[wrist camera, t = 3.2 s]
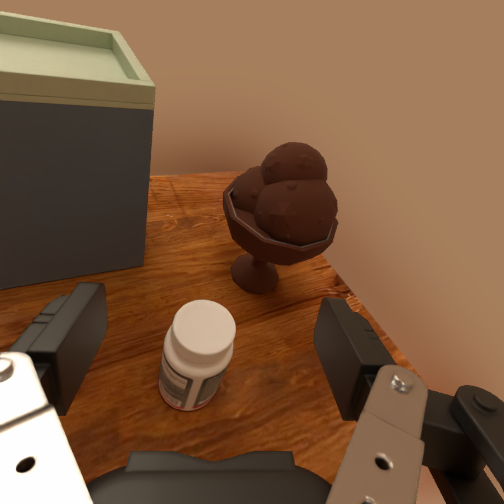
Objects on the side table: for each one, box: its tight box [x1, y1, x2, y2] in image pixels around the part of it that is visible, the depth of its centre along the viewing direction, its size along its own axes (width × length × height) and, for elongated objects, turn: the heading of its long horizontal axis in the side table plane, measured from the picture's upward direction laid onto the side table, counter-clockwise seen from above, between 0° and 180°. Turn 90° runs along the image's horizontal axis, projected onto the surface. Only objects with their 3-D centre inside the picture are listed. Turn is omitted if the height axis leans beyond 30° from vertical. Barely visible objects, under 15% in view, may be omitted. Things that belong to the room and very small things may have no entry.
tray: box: [0, 11, 155, 110], centre depth 22 cm, size 13×11×2 cm
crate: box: [0, 100, 154, 290], centre depth 28 cm, size 13×11×16 cm
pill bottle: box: [158, 300, 236, 411], centre depth 24 cm, size 5×5×8 cm
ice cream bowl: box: [223, 142, 338, 294], centre depth 32 cm, size 11×11×15 cm
